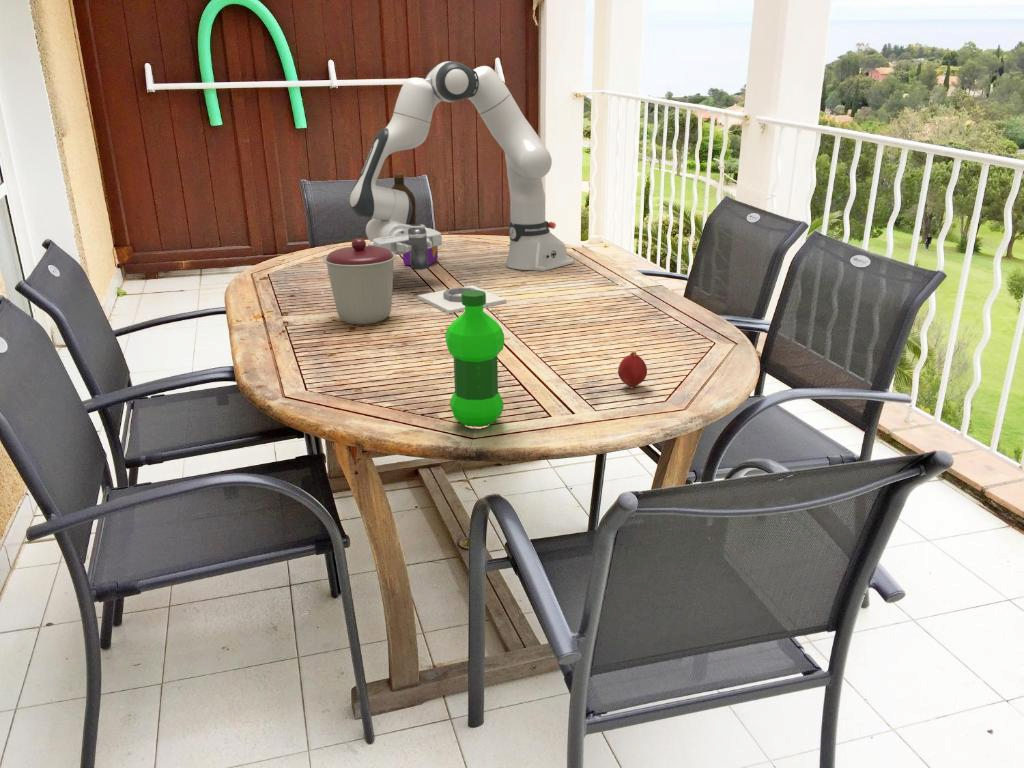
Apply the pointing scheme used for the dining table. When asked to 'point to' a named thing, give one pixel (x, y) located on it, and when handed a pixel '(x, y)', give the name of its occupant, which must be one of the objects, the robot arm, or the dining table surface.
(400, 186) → the olive oil
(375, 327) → the dining table surface
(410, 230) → the lens tube
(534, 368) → the dining table surface
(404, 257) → the toy camera
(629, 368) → the onion
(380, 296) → the canister
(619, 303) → the dining table surface
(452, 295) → the mount board
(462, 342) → the plastic bottle
